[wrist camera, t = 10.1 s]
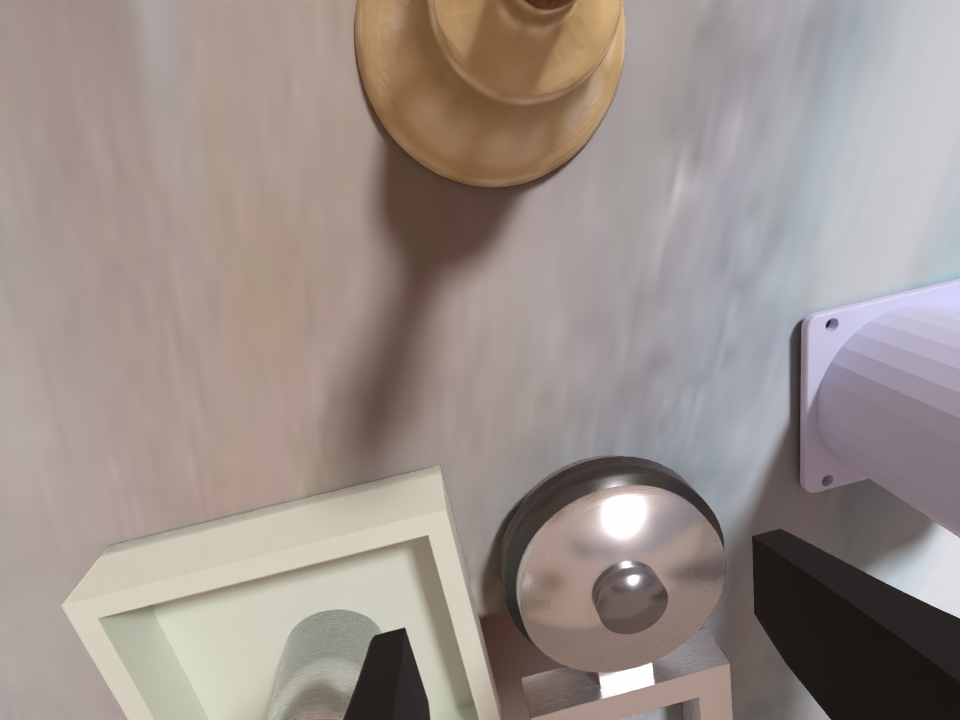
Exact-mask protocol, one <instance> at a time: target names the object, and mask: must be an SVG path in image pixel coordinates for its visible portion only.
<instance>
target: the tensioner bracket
mask: <svg viewBox="0 0 960 720" xmlns="http://www.w3.org/2000/svg"><path fill="white" fill-rule="evenodd" d="M499 569H500V576H501V581H502V585H503V589H504V593H505V597H506V601H507V605H508V608H509V611H510V615H511V617H512V619H513V621H514V623H515V625H516V626H517V628H518V629H519V630H520V632H521V633H522V634H523V635H524V636H525V637H526V638H527V639H528V640H529V641H530V642H531V643H532V644H533V645H535V646H536V647H538V648H539V649H540V650H541V651H542V652H543V653H544V654H545V655H547V656H548V657H550V658H551V659H552V660H554V661H556V662H558V663H560V664H562V665H564V667H560V668H557V669H553V670H549V671H546V672H542V673H538V674H535V675H531V676H527V677H523V678H521V680H522V684H523V689H524V693H525V697H526V702H527V706H528V711H529V715H530V719H531V720H619V719H622V718H626V717H630V716H633V715H637V714H640V713H644V712H647V711H651V710H655V709H658V708H662V707H665V706H669V705H672V704H676V703H680V702H682V708H683V719H684V720H733V715H732V695H731V675H730V663H729V661H728V660H727V658H726V657H725V655H724V654H723V652H722V651H721V649H720V648H719V646H718V645H717V643H716V642H715V640H714V639H713V638H712V636H711V635H710V633H709V632H708V630H707V629H706V628H703V629H700V628H701V627H702V625H703V624H704V623H705V622H706V620H707V619H708V618H709V616H710V615H711V613H712V612H713V610H714V608H715V607H716V604H717V602H718V600H719V598H720V596H721V593H722V589H723V586H724V581H725V576H726V559H725V552H724V541H723V534H722V531H721V528H720V524H719V522H718V520H717V518H716V516H715V514H714V513H713V511H712V510H711V509H710V507H709V506H708V504H707V503H706V502H705V501H704V500H703V499H702V498H701V497H700V496H699V495H698V494H697V493H696V491H695V490H694V489H693V488H692V487H691V486H690V485H689V484H688V483H687V482H686V481H685V480H684V479H683V478H682V477H681V476H680V475H678V474H677V473H675V472H674V471H673V470H671V469H669V468H667V467H665V466H663V465H661V464H659V463H656V462H653V461H650V460H647V459H641V458H636V457H624V456H599V457H593V458H588V459H584V460H581V461H578V462H574V463H572V464H570V465H567V466H565V467H563V468H561V469H559V470H557V471H556V472H554V473H552V474H550V475H549V476H548V477H546V478H545V479H544V480H542V481H541V482H540V483H539V484H538V485H536V486H535V487H534V488H533V489H532V490H531V491H530V492H529V494H528V495H527V496H526V497H525V498H524V499H523V501H522V502H521V504H520V505H519V507H518V508H517V510H516V512H515V514H514V516H513V517H512V519H511V521H510V523H509V525H508V527H507V529H506V531H505V534H504V537H503V540H502V543H501V549H500V555H499ZM699 629H700V630H699Z"/></svg>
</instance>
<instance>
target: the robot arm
mask: <svg viewBox="0 0 960 720" xmlns="http://www.w3.org/2000/svg"><path fill="white" fill-rule="evenodd" d="M830 319H831V323H830V325H829V326H828V327H827V328H826V323H827V322H828V320H830ZM825 476H826V478H825V479H824V480H823V478H824V477H825ZM867 479H870V480H872V481H873V482H875V483H876V484H878V485H880V486H881V487H883V488H884V489H886V490H887V491H889V492H890V493H892V494H893V495H895V496H896V497H898V498H899V499H901V500H903V501H904V502H906V503H907V504H909V505H910V506H912V507H913V508H915V509H916V510H918V511H919V512H921V513H923V514H924V515H926V516H927V517H929V518H930V519H932V520H933V521H935V522H936V523H938V524H939V525H941V526H943V527H944V528H946V529H947V530H949V531H950V532H952V533H953V534H955V535H956V536H958V537H959V538H960V279H956V280H952V281H947V282H943V283H939V284H935V285H930V286H926V287H922V288H918V289H913V290H909V291H905V292H901V293H897V294H892V295H888V296H884V297H880V298H875V299H871V300H867V301H863V302H858V303H854V304H850V305H846V306H842V307H837V308H833V309H829V310H825V311H820V312H816V313H813V314H810V315H808V316H807V317H806V318H805V319H804V321H803V323H802V327H801V418H800V484H801V486H802V487H803V488H804V489H805V490H806V491H807V492H810V493H817V492H821V491H824V490H828V489H832V488H836V487H840V486H844V485H848V484H852V483H855V482H859V481H863V480H867ZM752 545H753V581H754V614H755V615H756V617H757V618H758V620H759V622H760V623H761V625H762V626H763V628H764V630H765V631H766V633H767V635H768V636H769V638H770V639H771V641H772V642H773V644H774V646H775V647H776V649H777V650H778V652H779V653H780V655H781V656H782V658H783V659H784V661H785V662H786V664H787V665H788V666H789V667H790V669H791V670H792V671H793V673H794V674H795V675H796V676H797V678H798V679H799V680H800V681H801V683H802V684H803V685H804V686H805V688H806V689H807V690H808V691H809V693H810V694H811V695H812V696H813V698H814V699H815V700H816V701H817V703H818V704H819V705H820V706H821V708H822V709H823V710H824V711H825V713H826V714H827V715H828V716H829V718H830V719H831V720H960V618H957V617H955V616H953V615H951V614H949V613H947V612H944V611H942V610H940V609H938V608H936V607H933V606H931V605H929V604H927V603H925V602H923V601H921V600H919V599H917V598H915V597H913V596H910V595H908V594H906V593H904V592H902V591H900V590H898V589H896V588H894V587H892V586H890V585H888V584H886V583H884V582H882V581H880V580H878V579H876V578H874V577H872V576H871V575H869V574H867V573H865V572H863V571H861V570H859V569H857V568H855V567H853V566H851V565H849V564H847V563H845V562H844V561H842V560H840V559H838V558H836V557H834V556H832V555H830V554H828V553H826V552H825V551H823V550H821V549H819V548H817V547H815V546H813V545H811V544H809V543H807V542H806V541H804V540H802V539H800V538H798V537H796V536H794V535H792V534H790V533H788V532H786V531H784V530H782V529H778V530H774V531H770V532H766V533H763V534H759V535H755V536H752ZM343 720H431V719H430V710H429V701H428V698H427V695H426V692H425V689H424V686H423V682H422V679H421V676H420V673H419V670H418V667H417V663H416V660H415V657H414V654H413V651H412V647H411V644H410V641H409V638H408V635H407V632H406V628H405V627H404V628H400V629H397V630H393V631H389V632H385V633H381V634H378V635H374V637H373V638H372V640H371V641H370V644H369V647H368V651H367V654H366V657H365V660H364V663H363V666H362V669H361V672H360V675H359V678H358V681H357V684H356V686H355V689H354V692H353V695H352V697H351V700H350V703H349V705H348V708H347V711H346V713H345V716H344V718H343Z"/></svg>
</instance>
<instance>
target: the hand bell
mask: <svg viewBox="0 0 960 720" xmlns="http://www.w3.org/2000/svg"><path fill="white" fill-rule="evenodd" d="M625 44H626V26H625V14H624V6H623V0H357V5H356V12H355V46H356V55H357V61H358V66H359V70H360V74H361V77H362V81H363V84H364V87H365V90H366V93H367V96H368V98H369V100H370V102H371V104H372V107H373V108H374V110H375V112H376V114H377V116H378V118H379V119H380V121H381V122H382V124H383V126H384V127H385V129H386V130H387V131H388V133H389V134H390V135H391V137H392V138H393V139H394V140H395V141H396V142H397V143H398V144H399V145H400V146H401V148H402V149H403V150H404V151H405V152H407V153H408V154H409V155H410V156H411V157H412V158H414V159H415V160H416V161H417V162H419V163H420V164H421V165H422V166H424V167H426V168H427V169H429V170H431V171H433V172H434V173H436V174H438V175H440V176H442V177H445V178H448V179H450V180H453V181H456V182H460V183H462V184H467V185H472V186H478V187H507V186H514V185H519V184H524V183H527V182H530V181H532V180H535V179H537V178H540V177H542V176H544V175H546V174H548V173H549V172H551V171H553V170H555V169H556V168H558V167H560V166H561V165H563V164H564V163H566V162H567V161H568V160H569V159H571V158H572V157H573V156H574V155H575V154H576V153H577V152H578V151H579V150H580V149H581V148H582V147H583V146H584V145H585V144H586V143H587V142H588V141H589V140H590V138H591V137H592V135H593V134H594V133H595V131H596V130H597V128H598V127H599V126H600V124H601V123H602V121H603V119H604V118H605V116H606V114H607V112H608V109H609V107H610V105H611V104H612V101H613V99H614V96H615V93H616V91H617V87H618V84H619V81H620V77H621V73H622V68H623V64H624V54H625Z"/></svg>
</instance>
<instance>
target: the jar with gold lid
mask: <svg viewBox="0 0 960 720" xmlns="http://www.w3.org/2000/svg"><path fill="white" fill-rule="evenodd" d="M381 633H382V631H381V630H380V628H379V627H378V626H377V624H376V623H375V622H373V621H372V620H371V619H370V618H368V617H367V616H365V615H363V614H360V613H357V612H354V611H350V610H342V609H334V610H326V611H321V612H318V613H315V614H313V615H310V616H308V617H307V618H305V619H303V620H302V621H301V622H299V623H298V624H297V625H296V626H295V627H294V628H293V630H292V631H291V632H290V634H289V636H288V638H287V640H286V644H285V648H284V652H283V657H282V661H281V665H280V669H279V673H278V677H277V681H276V685H275V689H274V693H273V697H272V701H271V705H270V710H269V714H268V718H267V720H343V718H344V716H345V713H346V711H347V708H348V705H349V703H350V700H351V697H352V695H353V692H354V689H355V686H356V684H357V681H358V678H359V675H360V672H361V669H362V666H363V663H364V660H365V657H366V654H367V651H368V647H369V644H370V641H371V640H372V638H373V637H374V635H378V634H381Z"/></svg>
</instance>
